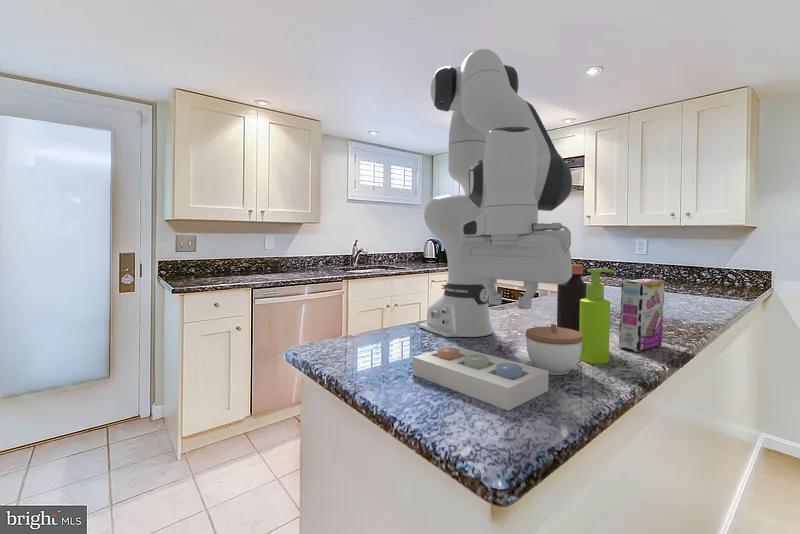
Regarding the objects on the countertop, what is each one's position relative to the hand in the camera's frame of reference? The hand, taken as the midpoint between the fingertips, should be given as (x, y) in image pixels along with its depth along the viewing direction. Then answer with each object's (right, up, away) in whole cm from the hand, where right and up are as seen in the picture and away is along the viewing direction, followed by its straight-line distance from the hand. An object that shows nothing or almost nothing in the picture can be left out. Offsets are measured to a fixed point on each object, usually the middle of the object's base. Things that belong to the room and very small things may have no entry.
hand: (509, 306), depth 66 cm
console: (-4, -15, +6) cm, 17 cm away
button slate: (0, -14, +1) cm, 14 cm away
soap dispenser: (+24, -14, +19) cm, 34 cm away
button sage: (-4, -13, +6) cm, 15 cm away
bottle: (+25, -13, +32) cm, 43 cm away
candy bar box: (+40, -13, +28) cm, 51 cm away
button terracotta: (-9, -13, +12) cm, 19 cm away
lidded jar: (+12, -14, +13) cm, 23 cm away
